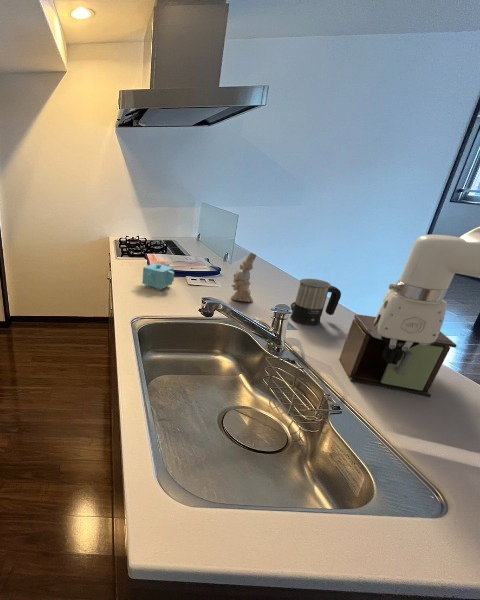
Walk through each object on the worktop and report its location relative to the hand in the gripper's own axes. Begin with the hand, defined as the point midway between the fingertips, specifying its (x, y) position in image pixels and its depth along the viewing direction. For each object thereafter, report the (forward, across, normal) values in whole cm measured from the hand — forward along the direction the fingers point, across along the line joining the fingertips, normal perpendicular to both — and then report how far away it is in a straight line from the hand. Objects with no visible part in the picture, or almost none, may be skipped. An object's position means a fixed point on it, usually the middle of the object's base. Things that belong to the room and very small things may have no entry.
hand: (389, 361), depth 78 cm
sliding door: (+8, +5, +1) cm, 10 cm away
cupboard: (+9, +3, +9) cm, 13 cm away
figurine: (+9, -31, +53) cm, 62 cm away
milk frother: (+9, -9, +44) cm, 46 cm away
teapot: (+10, -67, +56) cm, 87 cm away
